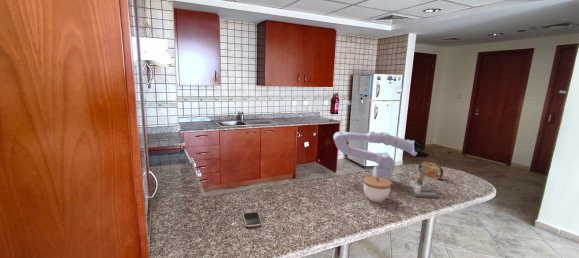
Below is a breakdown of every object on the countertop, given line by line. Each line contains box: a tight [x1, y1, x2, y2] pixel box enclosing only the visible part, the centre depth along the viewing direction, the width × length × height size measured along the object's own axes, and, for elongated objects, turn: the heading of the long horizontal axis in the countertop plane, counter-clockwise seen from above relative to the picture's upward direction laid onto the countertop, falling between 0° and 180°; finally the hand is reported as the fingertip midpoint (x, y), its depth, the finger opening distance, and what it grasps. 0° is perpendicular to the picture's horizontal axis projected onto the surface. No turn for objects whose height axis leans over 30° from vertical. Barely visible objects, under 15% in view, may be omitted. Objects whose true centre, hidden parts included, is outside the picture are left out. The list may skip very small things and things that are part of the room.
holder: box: [410, 180, 429, 189], centre depth 144 cm, size 6×6×3 cm
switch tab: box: [413, 186, 421, 193], centre depth 135 cm, size 2×3×3 cm, turn 1°
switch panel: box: [407, 188, 439, 199], centre depth 136 cm, size 12×7×2 cm, turn 91°
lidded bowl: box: [363, 175, 392, 203], centre depth 129 cm, size 13×13×11 cm
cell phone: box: [242, 211, 262, 228], centre depth 107 cm, size 6×11×1 cm, turn 16°
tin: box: [418, 161, 444, 180], centre depth 162 cm, size 15×3×8 cm, turn 25°
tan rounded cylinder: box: [416, 172, 425, 185], centre depth 143 cm, size 3×3×8 cm
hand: (425, 152), depth 147 cm, fingers open, 7 cm apart
